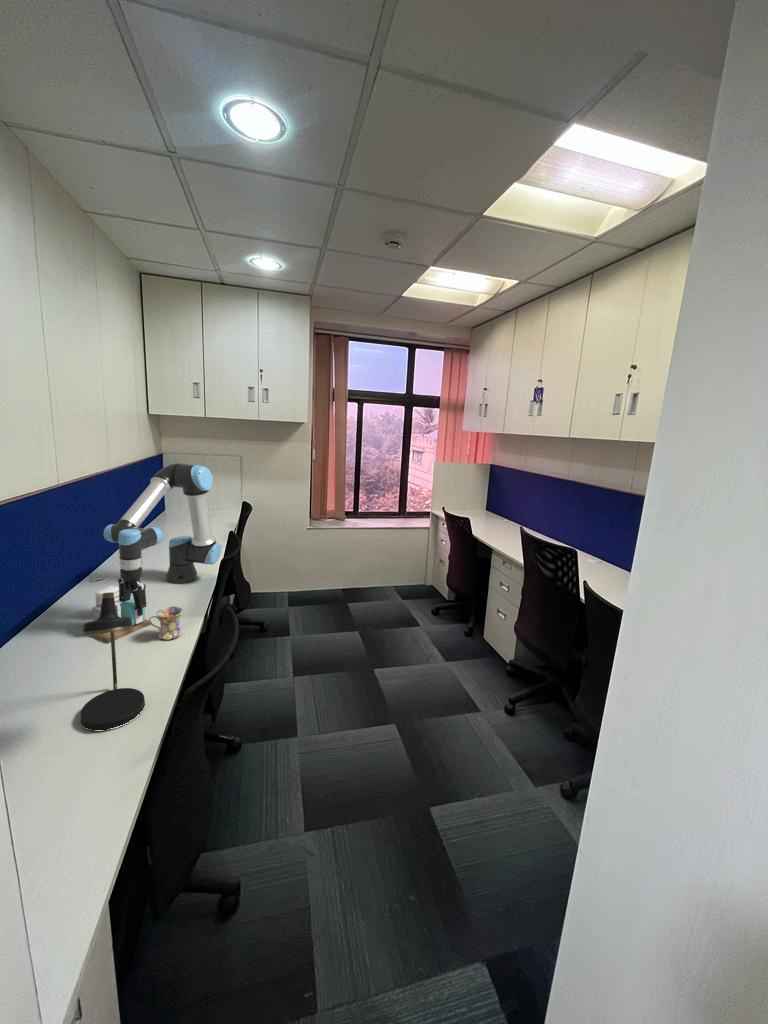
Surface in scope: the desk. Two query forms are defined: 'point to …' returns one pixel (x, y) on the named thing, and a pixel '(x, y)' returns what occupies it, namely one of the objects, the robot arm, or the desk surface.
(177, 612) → the mug
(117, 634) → the stand
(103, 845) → the desk surface
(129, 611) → the teal foam cube
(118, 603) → the ink box
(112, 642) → the lamp
